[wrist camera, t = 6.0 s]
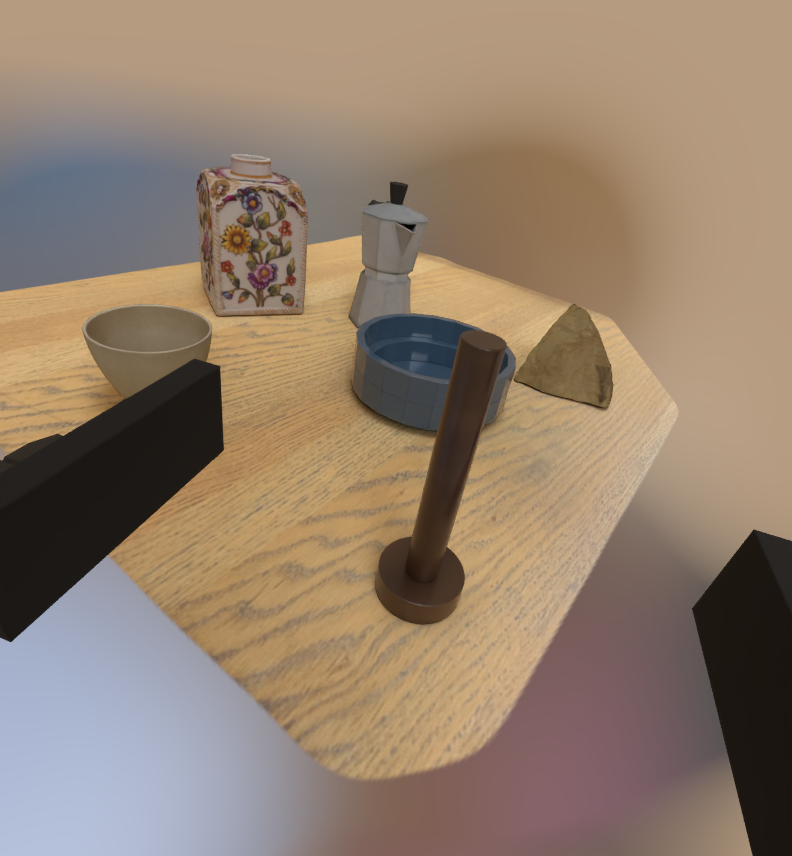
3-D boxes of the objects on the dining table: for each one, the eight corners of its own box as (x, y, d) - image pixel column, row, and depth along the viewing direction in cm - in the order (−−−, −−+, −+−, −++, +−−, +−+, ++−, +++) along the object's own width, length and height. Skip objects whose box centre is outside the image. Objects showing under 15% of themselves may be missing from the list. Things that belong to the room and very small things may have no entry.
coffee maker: (426, 340, 67) (454, 197, 57) (365, 341, 64) (384, 189, 54) (386, 299, 78) (404, 173, 68) (332, 299, 74) (343, 166, 65)
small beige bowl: (97, 433, 41) (80, 355, 37) (98, 375, 48) (83, 304, 44) (224, 419, 45) (220, 347, 41) (207, 368, 52) (203, 302, 48)
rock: (640, 388, 59) (580, 342, 64) (645, 344, 52) (578, 297, 57) (567, 443, 58) (513, 392, 64) (563, 405, 51) (503, 352, 57)
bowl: (529, 410, 55) (546, 362, 52) (426, 457, 45) (439, 401, 41) (425, 349, 64) (434, 305, 61) (320, 377, 54) (324, 326, 51)
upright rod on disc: (475, 594, 33) (566, 352, 23) (416, 641, 29) (494, 379, 20) (417, 542, 36) (476, 309, 26) (357, 578, 32) (399, 325, 23)
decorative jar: (305, 315, 68) (312, 170, 58) (216, 318, 63) (207, 159, 53) (281, 285, 76) (284, 153, 66) (201, 285, 71) (191, 143, 61)
